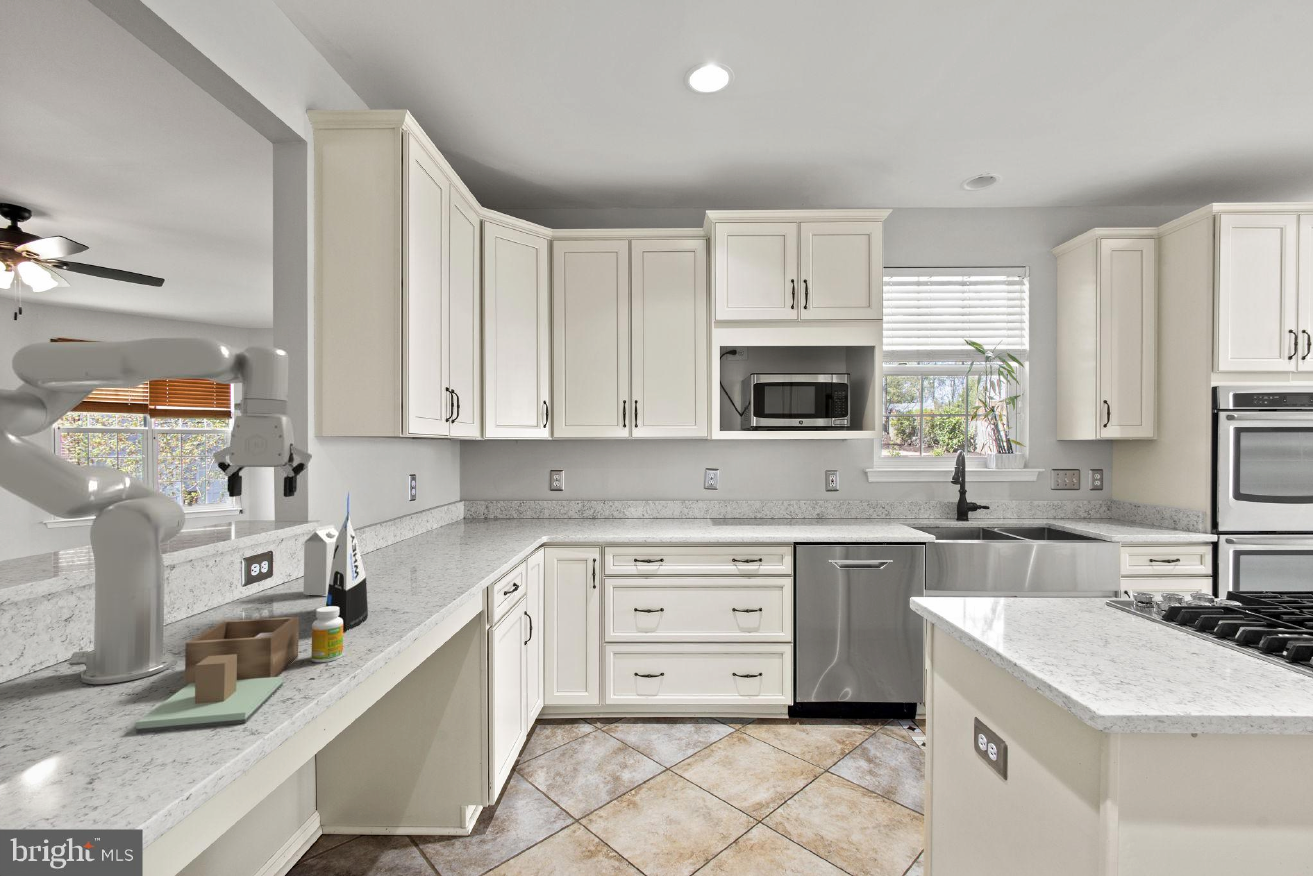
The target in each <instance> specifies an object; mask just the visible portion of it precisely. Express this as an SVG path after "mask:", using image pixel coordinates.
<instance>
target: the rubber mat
mask: <svg viewBox="0 0 1313 876" xmlns="http://www.w3.org/2000/svg"><path fill="white" fill-rule="evenodd" d="M283 683H284V682H282V683H281V684H280V685H279V686H278V687H277V688H276V689H275V690H274V691H273V692H272V693H271V694H270V695H269V696H268V697H267V698H266V699H265V700H264V701H263V702H262V703H261V704H260V705H259V706H258V707H257V708H256V709H255V710H254V711H253V712H252V713H251V714H250V715H249V716H248V717H247V718H246V719H242V720H230V721H219V722H208V723H197V724H185V725H174V726H163V727H152V728H140V729H136V728H135V733H136V734H142V732H144V733H152V732H151V731H155V732H164V730H166V731H172V730H171V729H177V730H185V729H184V728H188V729H199V728H207V727H206V726H211V727H220V725H222V726H230V725H229V724H233V725H242V723H244V724H247V722H249V720H251V718H252V717H254V715H256V713H257V712H258V711H259V710H260V709H262V707H263V706H264V705H265V704H266V703H267V702H268V701H269V700H270V699H271V698H273V696H274V695H275V694H276V693H278V691H280V689H281V688H282V687H283V686H284V684H283ZM281 686H282V687H281ZM279 688H280V689H279ZM277 690H278V691H277ZM272 695H273V696H272ZM270 697H271V698H270ZM268 699H269V700H268ZM266 701H267V702H266ZM263 704H264V705H263ZM240 723H241V724H240ZM227 724H228V725H227ZM162 730H163V731H162ZM149 731H150V732H149Z"/></svg>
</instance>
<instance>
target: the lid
mask: <svg viewBox="0 0 1313 876" xmlns="http://www.w3.org/2000/svg"><path fill="white" fill-rule="evenodd" d="M283 678H284V677H283V676H278V677H270V678H256V679H243V680H237V654H233V655H218V656H208V657H207V658H205V659H204V660H202V661H201V662H200V663H198V664H197V665H196V669H195V683H190V684H188V685H187V686H186V687H185V686H184V687H183V688H181V689H180V690H179V691H177V692H176V693H174V694H173V695H172V696H169V698H168V699H166V700H165V701H163V702H162V703H161V704H159V705H158V706H157V707H155V708H154V709H152V710H151V711H150V712H148V713H147V714H145V715H144V716H142V717H141V718H140V719H138V720H137V721H136V722H135V723H136V724H135V726H136V727H135V730H136V729H140V728H152V727H163V726H174V725H185V724H197V723H208V722H219V721H230V720H242V719H246V718H247V717H248V716H249V715H250V714H251V713H252V712H253V711H254V710H255V709H256V708H257V707H258V706H259V705H260V704H261V703H262V702H263V701H264V700H265V699H266V698H267V697H268V696H269V695H270V694H271V693H272V692H273V691H274V690H275V689H276V688H277V687H278V686H279V685H280V684H281V683H282V682H283ZM283 683H284V682H283Z"/></svg>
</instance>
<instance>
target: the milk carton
mask: <svg viewBox="0 0 1313 876" xmlns="http://www.w3.org/2000/svg"><path fill="white" fill-rule="evenodd" d="M314 529H315V530H314V531H315V532H314V533H312V534H311V535H310V536H309V537H308V538H307V539H306V540H305V541H303V545H304V546H303V551H304V552H303V595H304V594H309V595H327V594H328V587H329V579H330V573H331V567H332V561H333V555H334V549H335V543H336V538H337V536H338V534H339V532H338V531H337V530H336V528H335V524H330V525H324V526H319V527H315V528H314ZM309 595H308V596H309Z"/></svg>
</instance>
